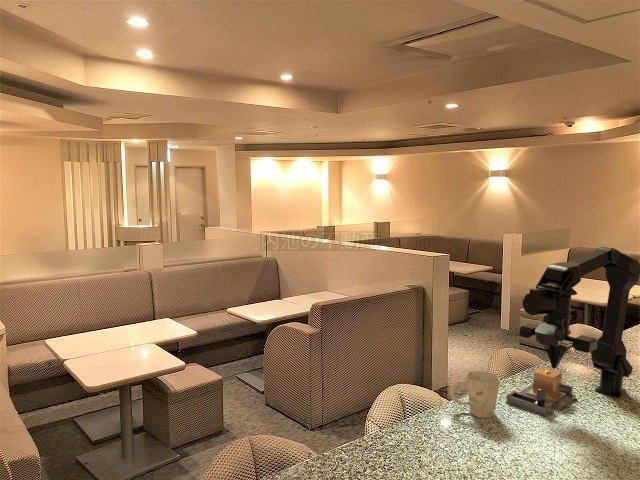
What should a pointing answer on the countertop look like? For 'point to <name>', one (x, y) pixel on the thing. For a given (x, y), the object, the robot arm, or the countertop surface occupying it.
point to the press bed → (557, 401)
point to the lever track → (528, 403)
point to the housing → (547, 382)
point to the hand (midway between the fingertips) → (554, 368)
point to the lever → (540, 397)
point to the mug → (479, 393)
